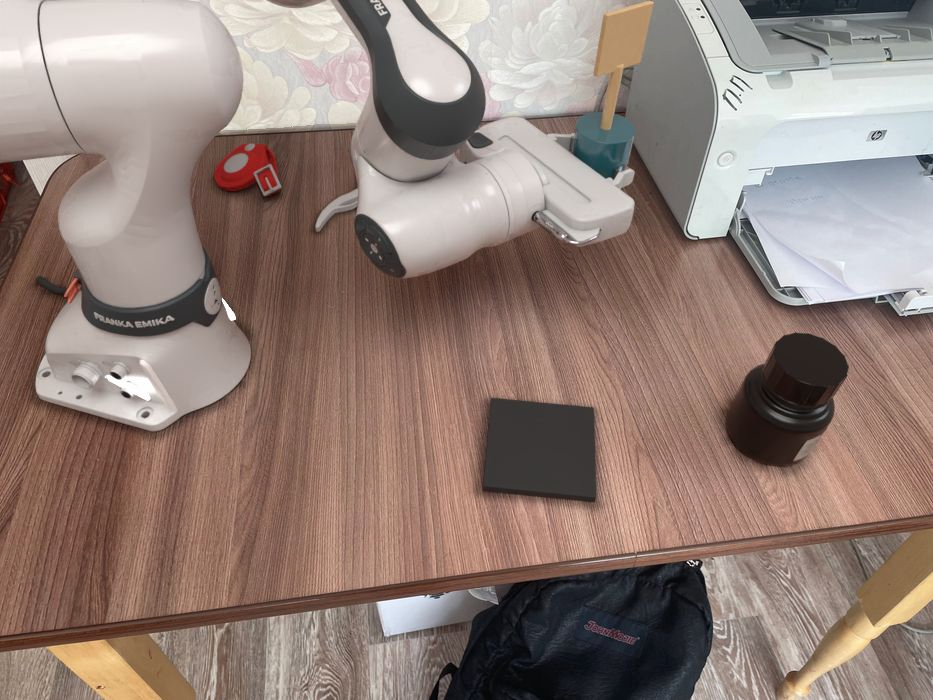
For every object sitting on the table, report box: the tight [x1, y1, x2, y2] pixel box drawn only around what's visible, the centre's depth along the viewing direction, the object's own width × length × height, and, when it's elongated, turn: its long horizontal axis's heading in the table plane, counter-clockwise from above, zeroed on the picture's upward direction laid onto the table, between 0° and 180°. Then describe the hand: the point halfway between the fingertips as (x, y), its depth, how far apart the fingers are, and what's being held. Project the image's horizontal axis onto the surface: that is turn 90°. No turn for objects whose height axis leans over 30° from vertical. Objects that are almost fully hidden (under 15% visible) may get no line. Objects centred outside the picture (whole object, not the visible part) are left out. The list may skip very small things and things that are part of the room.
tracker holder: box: [213, 143, 282, 197], centre depth 102 cm, size 12×4×10 cm
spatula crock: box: [570, 0, 655, 191], centre depth 75 cm, size 6×6×22 cm
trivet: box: [482, 397, 597, 503], centre depth 73 cm, size 11×11×1 cm
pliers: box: [315, 187, 358, 233], centre depth 100 cm, size 10×2×15 cm
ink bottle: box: [725, 332, 850, 467], centre depth 71 cm, size 10×9×12 cm
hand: (605, 156), depth 79 cm, fingers closed on spatula crock, 6 cm apart
